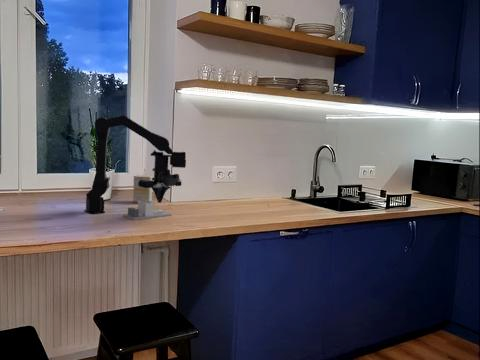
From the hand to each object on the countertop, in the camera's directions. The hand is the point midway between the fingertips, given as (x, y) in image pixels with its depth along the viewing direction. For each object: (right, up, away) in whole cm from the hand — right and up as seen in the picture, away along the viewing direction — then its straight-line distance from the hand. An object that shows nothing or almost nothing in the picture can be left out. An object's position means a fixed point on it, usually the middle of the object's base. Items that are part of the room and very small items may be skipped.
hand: (159, 202), depth 189 cm
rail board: (-4, -5, -4) cm, 8 cm away
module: (-5, -5, -4) cm, 8 cm away
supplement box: (-13, -1, +24) cm, 27 cm away
